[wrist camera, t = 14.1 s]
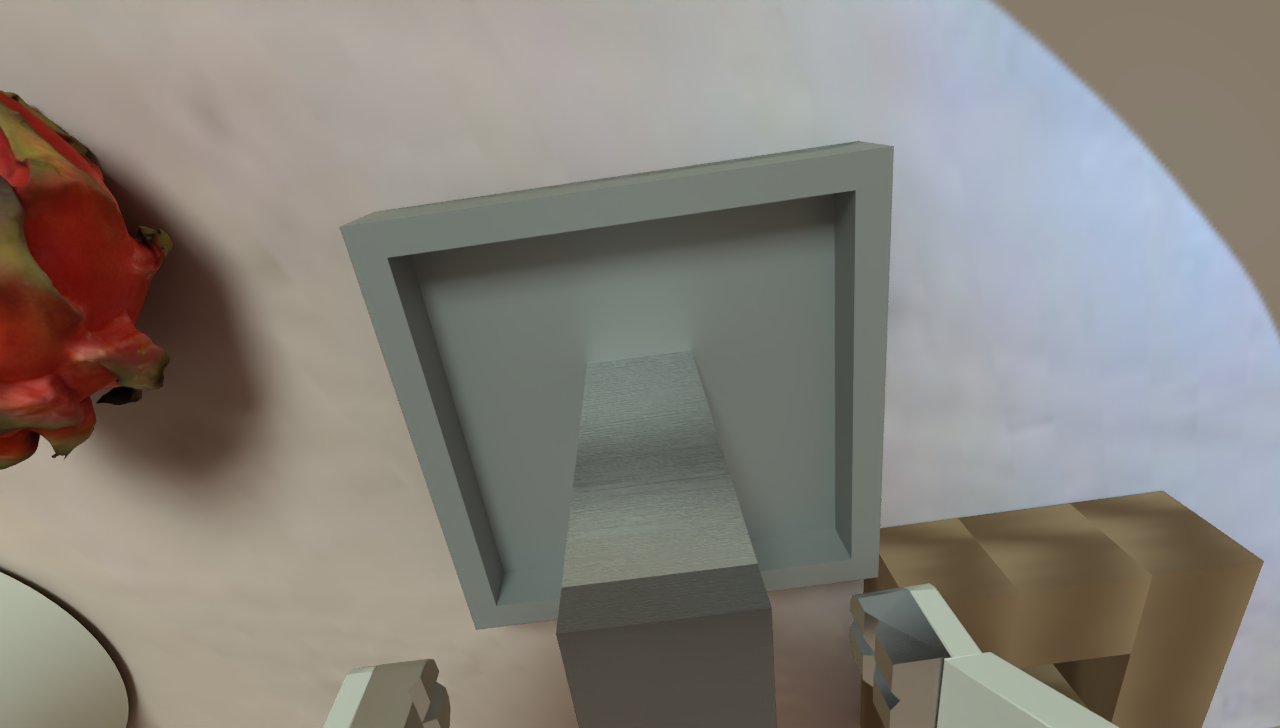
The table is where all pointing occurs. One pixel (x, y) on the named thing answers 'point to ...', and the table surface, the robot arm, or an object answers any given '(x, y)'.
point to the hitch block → (1088, 599)
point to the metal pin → (660, 562)
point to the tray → (643, 351)
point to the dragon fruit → (66, 289)
